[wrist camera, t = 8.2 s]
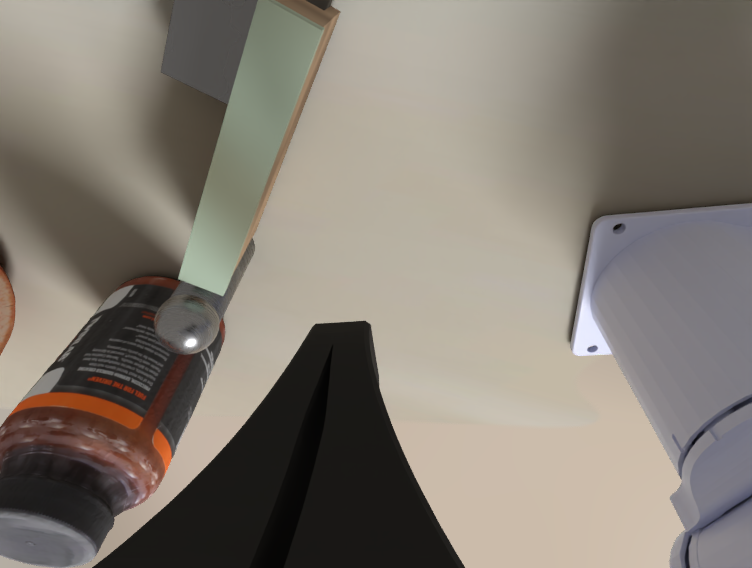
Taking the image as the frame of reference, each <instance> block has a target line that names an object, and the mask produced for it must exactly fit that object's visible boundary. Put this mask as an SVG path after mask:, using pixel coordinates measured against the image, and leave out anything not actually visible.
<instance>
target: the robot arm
mask: <svg viewBox="0 0 752 568" xmlns="http://www.w3.org/2000/svg"><path fill="white" fill-rule="evenodd" d="M620 223H622V225H621V227H620V228H618V229H616V230H613V228H614V226H615V225H617V224H620ZM592 345H594V346H592ZM589 346H592V347H589ZM570 348H571V350H572V352H573V354H575V355H577V356H587V355H605V354H613V356H614V358H615V360H616V361H617V363H618V365H619V367H620V369H621V371H622V372H623V374H624V376H625V378H626V380H627V381H628V383H629V385H630V387H631V389H632V391H633V392H634V394H635V396H636V398H637V400H638V401H639V403H640V405H641V407H642V409H643V410H644V412H645V414H646V416H647V418H648V419H649V421H650V423H651V425H652V427H653V429H654V431H655V432H656V434H657V436H658V438H659V440H660V442H661V443H662V445H663V447H664V449H665V450H666V452H667V454H668V456H669V458H670V460H671V462H672V463H673V465H674V467H675V469H676V471H677V472H678V474H679V476H680V478H681V480H682V483H681V485H680V487H679V488H678V489H677V491H676V492H675V493H673V494H672V495H671V496H670V500H671V502H672V503H673V506H674V508H675V510H676V512H677V514H678V516H679V517H680V519H681V522H682V523H683V526H684V528H685V529H686V530H684V531H683V532H682V533H681V534H680V535H679V536H678V537H677V538H676V540H675V542H674V545H673V547H672V549H671V555H670V568H752V203H746V204H735V205H723V206H711V207H700V208H688V209H676V210H665V211H653V212H641V213H630V214H618V215H606V216H602V217H600V218H598V219H596V221H595V222H594V223H593V225H592V228H591V234H590V239H589V245H588V250H587V256H586V261H585V267H584V272H583V278H582V283H581V289H580V294H579V300H578V305H577V311H576V316H575V322H574V327H573V333H572V338H571V344H570ZM92 568H465V567H464V565H463V564H462V562H461V560H460V559H459V557H458V555H457V554H456V552H455V550H454V549H453V547H452V545H451V543H450V542H449V540H448V538H447V536H446V535H445V533H444V531H443V529H442V528H441V526H440V524H439V522H438V521H437V519H436V517H435V515H434V513H433V511H432V509H431V507H430V505H429V503H428V502H427V500H426V498H425V496H424V494H423V492H422V490H421V488H420V486H419V484H418V482H417V480H416V478H415V477H414V474H413V472H412V470H411V468H410V466H409V464H408V461H407V459H406V457H405V455H404V453H403V451H402V448H401V446H400V443H399V441H398V439H397V436H396V434H395V431H394V429H393V426H392V424H391V421H390V418H389V416H388V413H387V410H386V407H385V405H384V402H383V398H382V395H381V392H380V389H379V375H378V368H377V362H376V356H375V350H374V344H373V337H372V331H371V325H370V324H369V323H368V322H366V321H356V322H340V323H324V324H315V325H314V326H313V327H312V329H311V330H310V332H309V333H308V335H307V337H306V338H305V340H304V342H303V343H302V345H301V346H300V348H299V349H298V351H297V353H296V354H295V356H294V357H293V359H292V360H291V362H290V363H289V365H288V366H287V368H286V369H285V371H284V372H283V373H282V375H281V376H280V378H279V379H278V380H277V382H276V383H275V385H274V386H273V388H272V389H271V390H270V392H269V393H268V395H267V396H266V397H265V398H264V400H263V401H262V402H261V404H260V405H259V406H258V407H257V409H256V410H255V411H254V413H253V414H252V415H251V416H250V418H249V419H248V420H247V421H246V423H245V424H244V425H243V426H242V428H241V429H240V430H239V431H238V432H237V433H236V435H235V436H234V437H233V438H232V439H231V440H230V442H229V443H228V444H227V445H226V446H225V447H224V448H223V449H222V451H220V453H219V454H218V455H217V456H216V457H215V458H214V459H213V460H212V461H211V462H210V463H209V464H208V466H206V467H205V468H204V469H203V470H202V471H201V472H200V473H199V474H198V476H197V477H195V478H194V480H192V482H191V483H190V484H188V485H187V487H186V488H185V489H183V490H182V491H181V492H180V493H179V494H178V495H177V496H176V497H175V498H174V499H173V500H172V501H171V502H170V503H169V504H168V505H166V506H165V507H164V508H163V509H162V510H161V511H160V512H158V513H157V514H156V515H155V516H154V517H153V518H152V519H150V520H149V521H148V522H147V523H146V524H145V525H144V526H142V527H141V528H140V529H139V530H138V531H137V532H136V533H134V534H133V535H132V536H131V537H130V538H129V539H127V540H126V541H125V542H124V543H123V544H122V545H120V546H119V547H118V548H117V549H115V550H114V551H113V552H112V553H111V554H109V555H108V556H107V557H106V558H104V559H103V560H102V561H100V562H99V563H98V564H96V565H95V566H94V567H92Z"/></svg>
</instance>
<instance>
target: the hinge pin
mask: <svg viewBox="0 0 752 568" xmlns="http://www.w3.org/2000/svg"><path fill="white" fill-rule="evenodd" d="M254 251H255V245H254V242H253V240H252V239H251V241H250V243H249V245H248V247H247V248H246V250H245V252H244V254H243V256H242V258H241V260H240V262H239V264H238V266H237V268H236V269H235V271H234V273H233V275H232V277H231V280H230V282H229V285H228V288H227V290H226V292H225V294H224V296H221V295H218V294H216V293H213V292H211V291H208V290H205V289H203V288H200V287H198V286H195V285H192V284H190V283H187V282H185V281H182V280H181V282H180V283H179V285H178V286H177V288H176V289H175V291H174V292H173V294H172V295H171V297H170V298H169V299H168V300H167V301H166V302H164V303H163V304H162V305H161V307H160V308H159V309H158V311H157V313H156V315H155V319H154V332H155V335H156V337H157V339H158V341H159V342H160V344H161V345H162V346H163V347H165V348H166V349H167V350H169V351H171V352H174V353H177V354H183V355H188V354H194V353H197V352H200V351H202V350H204V349H205V348H207V347H208V346H209V345H210V344H211V343H212V342H213V341H214V339H215V338H216V336H217V334H218V331H219V324H220V322H221V319H222V317H223V315H224V313H225V311H226V309H227V307H228V305H229V303H230V301H231V299H232V297H233V295H234V293H235V291H236V289H237V287H238V285H239V283H240V281H241V279H242V277H243V275H244V273H245V270H246V268H247V266H248V264H249V262H250V260H251V258H252V256H253V254H254Z"/></svg>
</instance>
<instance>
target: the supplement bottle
mask: <svg viewBox="0 0 752 568" xmlns="http://www.w3.org/2000/svg"><path fill="white" fill-rule="evenodd" d="M179 283H180V281H177V280H174V279H171V278H167V277H159V276H145V277H140V278H135V279H132V280H130V281H127V282H125V283H124V284H122V285H121V286H119V287H118V288H117V289H116V290H115V291H114V292H113V294H111V295H110V296H109V297H108V298H107V299H106V300H105V302H104V303H103V304H102V305H101V306H100V307H99V309H98V310H97V312H96V313H95V314H94V315H93V316H92V317H91V318H90V320H89V321H88V322H87V324H85V326H84V327H83V328H82V329H81V331H80V332H79V333H78V334H77V335H76V337H75V338H74V339H73V340H72V342H71V343H70V344H69V345H68V346H67V348H66V349H65V350H64V351H63V352H62V354H61V355H60V356H59V357H58V358H57V359H56V361H55V362H54V363H53V364H52V365H51V366H50V367H49V368H48V370H47V371H46V372H45V373H44V374H43V376H42V377H41V378H40V379H39V380H38V382H37V383H36V384H35V385H34V386H33V387H32V388H31V390H30V391H29V392H28V393H27V395H26V396H25V397H24V398H23V399H22V400H21V402H20V403H19V404H18V405H17V407H16V408H15V409H14V410H13V411H12V413H11V414H10V415H9V416H8V417H7V419H6V420H5V422H4V423H3V424H2V426H1V427H0V555H1V556H3V557H6V558H9V559H12V560H15V561H19V562H23V563H27V564H31V565H36V566H46V567H54V568H66V567H75V566H81V565H84V564H86V563H88V562H90V561H91V560H92V559H93V558H94V557H95V556H96V554H97V553H98V551H99V549H100V547H101V545H102V543H103V541H104V539H105V537H106V535H107V533H108V532H109V530H111V529H112V527H113V525H114V517H115V516H117V515H119V514H120V513H122V512H123V511H125V510H128V509H131V508H134V507H136V506H137V505H139V504H141V503H143V502H144V501H146V500H147V499H148V498H149V497H151V495H152V494H153V493H154V492H155V491H156V489H157V488H158V486H159V484H160V482H161V481H162V479H163V477H164V475H165V473H166V470H167V469H168V466H169V464H170V462H171V459H172V458H173V456H174V454H175V451H176V449H177V446H178V444H179V442H180V440H181V438H182V435H183V433H184V431H185V429H186V427H187V424H188V422H189V420H190V418H191V416H192V414H193V411H194V409H195V407H196V405H197V402H198V400H199V398H200V395H201V393H202V391H203V388H204V387H205V384H206V382H207V380H208V378H209V375H210V373H211V371H212V369H213V366H214V364H215V362H216V359H217V357H218V355H219V353H220V350H221V347H222V345H223V342H224V337H225V325H224V321H223V318H222V319H221V322H220V324H219V331H218V334H217V336H216V338H215V339H214V341H213V342H212V343H211V344H210V345H209V346H208V347H207V348H205V349H204V350H202V351H200V352H197V353H194V354H188V355H183V354H177V353H174V352H171V351H169V350H167V349H166V348H165V347H163V346H162V345H161V344H160V342H159V341H158V339H157V337H156V335H155V332H154V319H155V315H156V313H157V311H158V309H159V308H160V307H161V305H162V304H163V303H164V302H166V301H167V300H168V299H169V298H170V297H171V295H172V294H173V292H174V291H175V289H176V288H177V286H178V285H179Z"/></svg>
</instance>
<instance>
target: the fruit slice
mask: <svg viewBox="0 0 752 568" xmlns="http://www.w3.org/2000/svg"><path fill="white" fill-rule="evenodd" d="M14 321H15V296H14V292H13V289H12V286H11V284H10V281H9V279H8V277H7V275H6V273H5V271H4V270H3V268H2V267H1V266H0V355H1V353H2V351H3V349H4V347H5V345H6V344H7V342H8V340H9V338H10V336H11V333H12V330H13V327H14Z"/></svg>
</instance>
